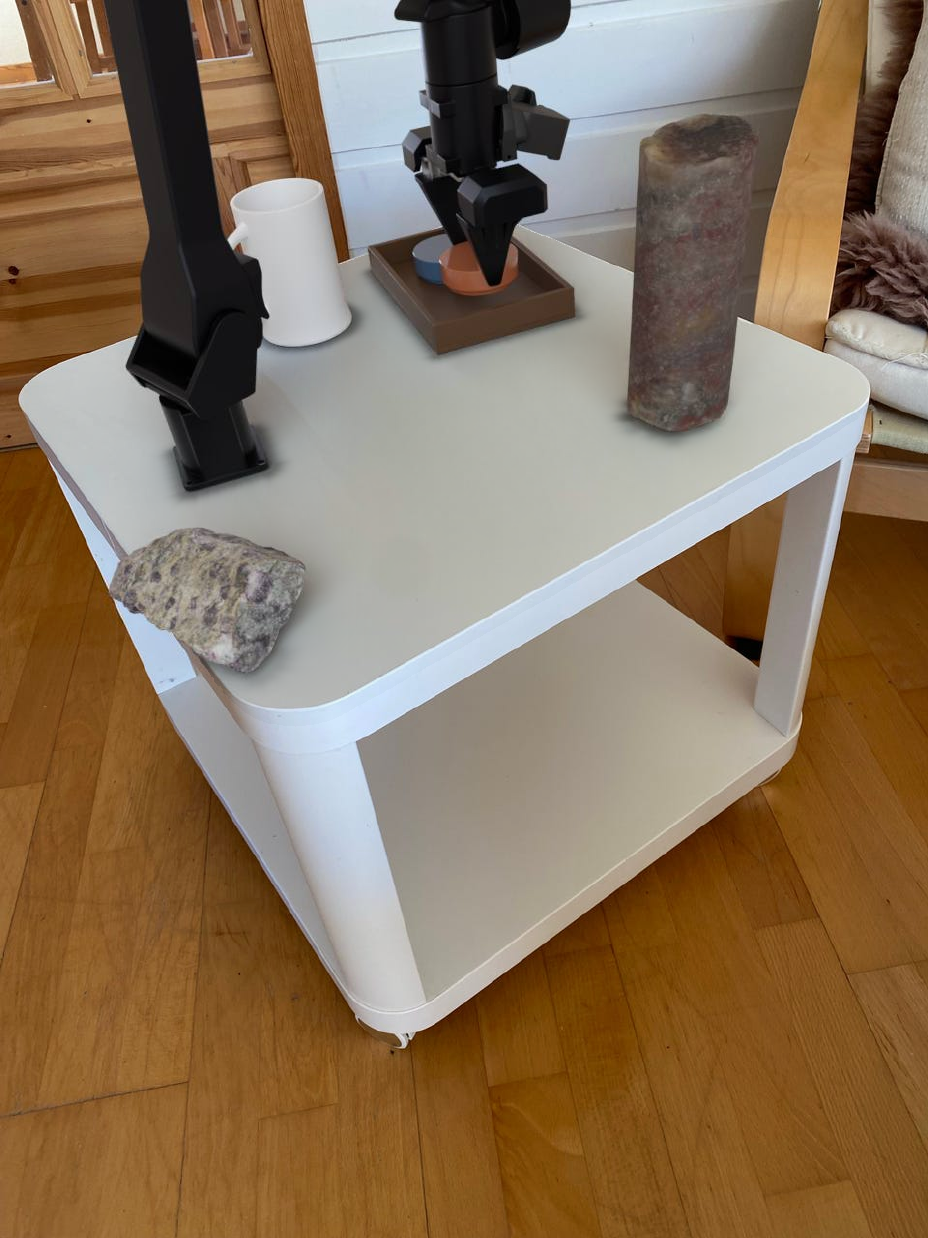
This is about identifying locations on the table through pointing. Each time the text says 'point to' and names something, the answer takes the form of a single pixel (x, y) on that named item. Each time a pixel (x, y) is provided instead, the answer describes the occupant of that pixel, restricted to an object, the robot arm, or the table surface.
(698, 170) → the brown stone pillar
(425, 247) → the blue puck
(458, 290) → the puck terracotta
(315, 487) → the table surface
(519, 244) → the tray
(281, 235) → the mug
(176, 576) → the rock
